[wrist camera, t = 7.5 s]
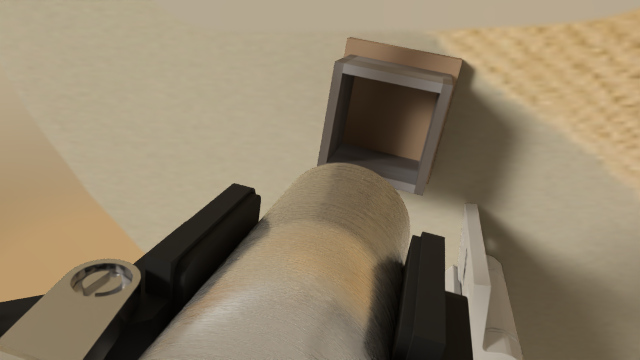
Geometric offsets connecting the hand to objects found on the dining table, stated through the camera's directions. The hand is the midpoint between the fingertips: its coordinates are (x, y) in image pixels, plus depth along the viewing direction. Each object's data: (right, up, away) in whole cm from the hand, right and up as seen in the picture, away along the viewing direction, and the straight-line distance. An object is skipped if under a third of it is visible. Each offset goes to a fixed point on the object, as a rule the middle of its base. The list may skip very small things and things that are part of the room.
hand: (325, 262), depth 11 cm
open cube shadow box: (+5, +7, +18) cm, 19 cm away
